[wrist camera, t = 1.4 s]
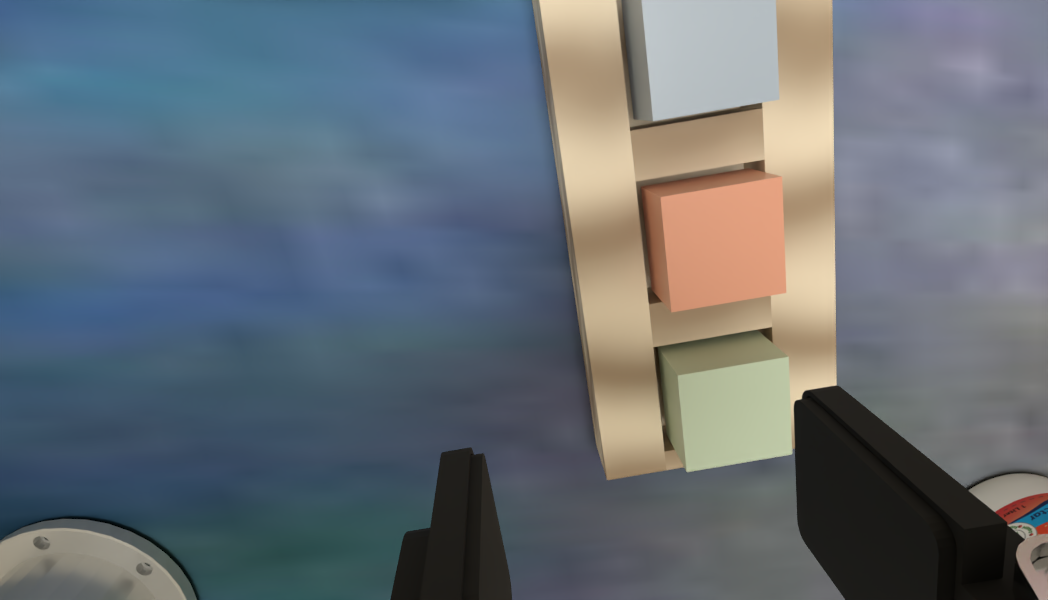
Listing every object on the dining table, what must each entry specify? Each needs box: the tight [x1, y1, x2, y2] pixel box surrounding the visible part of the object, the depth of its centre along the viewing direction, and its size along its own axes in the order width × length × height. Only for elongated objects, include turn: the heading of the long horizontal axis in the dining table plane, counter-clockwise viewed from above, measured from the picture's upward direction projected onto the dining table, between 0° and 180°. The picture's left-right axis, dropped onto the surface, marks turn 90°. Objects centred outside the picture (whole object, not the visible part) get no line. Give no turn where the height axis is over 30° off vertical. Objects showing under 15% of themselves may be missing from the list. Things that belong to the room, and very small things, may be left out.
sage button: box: [658, 330, 792, 472], centre depth 30 cm, size 5×5×4 cm
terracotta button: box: [641, 168, 786, 313], centre depth 28 cm, size 5×5×4 cm
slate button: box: [621, 0, 779, 121], centre depth 25 cm, size 5×5×4 cm
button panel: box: [532, 0, 836, 480], centre depth 30 cm, size 24×12×4 cm, turn 9°
